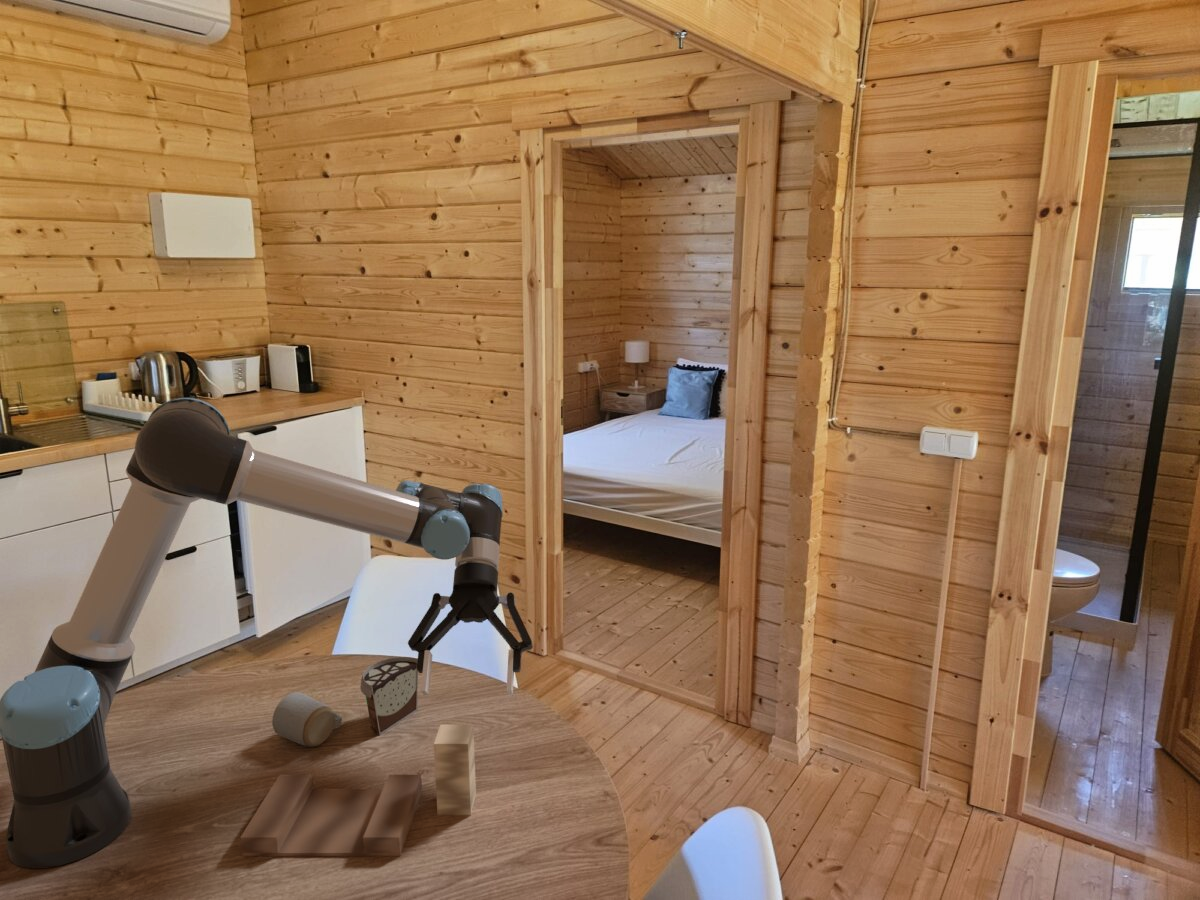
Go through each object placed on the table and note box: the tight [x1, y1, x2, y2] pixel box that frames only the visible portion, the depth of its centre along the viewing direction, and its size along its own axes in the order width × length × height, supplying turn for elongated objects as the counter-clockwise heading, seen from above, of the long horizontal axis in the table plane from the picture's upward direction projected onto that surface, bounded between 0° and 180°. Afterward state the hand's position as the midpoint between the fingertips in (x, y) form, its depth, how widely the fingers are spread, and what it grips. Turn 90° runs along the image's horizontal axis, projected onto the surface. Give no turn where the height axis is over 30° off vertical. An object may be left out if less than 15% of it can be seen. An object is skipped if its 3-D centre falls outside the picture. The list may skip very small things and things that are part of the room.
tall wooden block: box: [433, 724, 477, 816], centre depth 122 cm, size 5×5×12 cm
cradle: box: [240, 774, 423, 857], centre depth 119 cm, size 22×14×3 cm, turn 90°
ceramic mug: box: [271, 691, 343, 748], centre depth 140 cm, size 11×8×8 cm
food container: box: [359, 656, 419, 736], centre depth 145 cm, size 12×6×10 cm, turn 149°
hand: (467, 692), depth 129 cm, fingers open, 13 cm apart
